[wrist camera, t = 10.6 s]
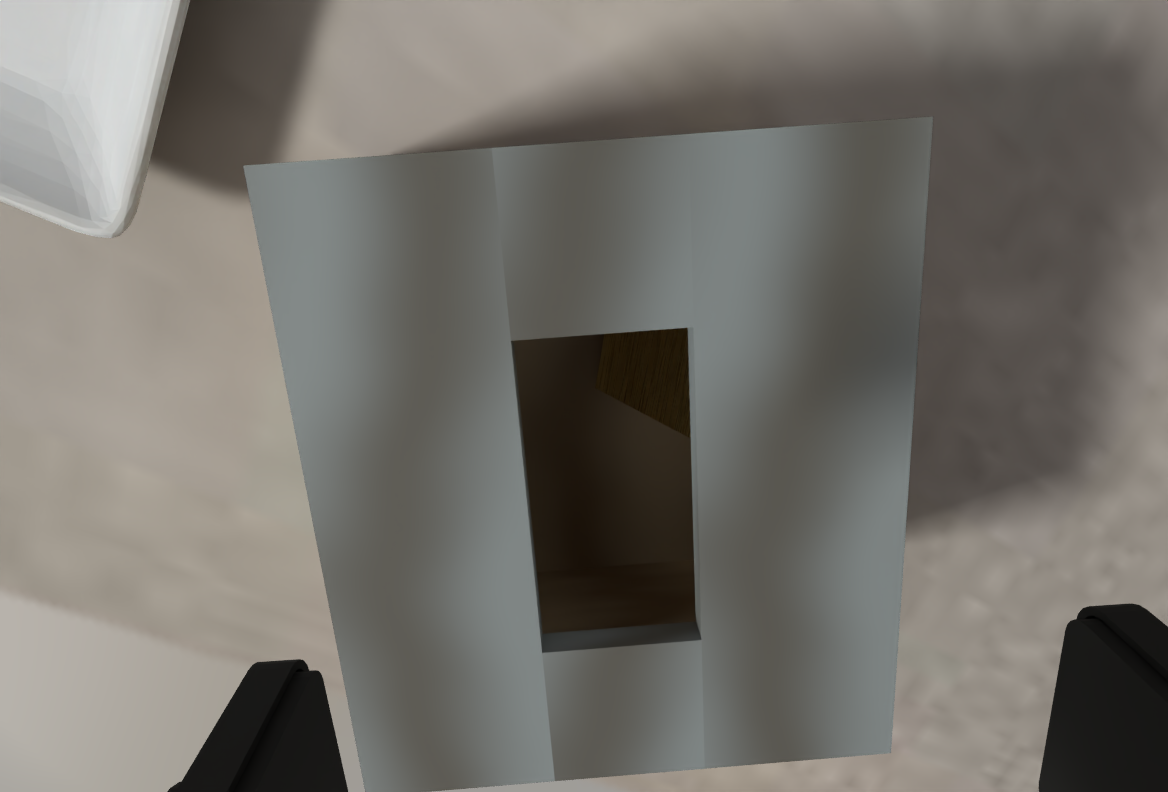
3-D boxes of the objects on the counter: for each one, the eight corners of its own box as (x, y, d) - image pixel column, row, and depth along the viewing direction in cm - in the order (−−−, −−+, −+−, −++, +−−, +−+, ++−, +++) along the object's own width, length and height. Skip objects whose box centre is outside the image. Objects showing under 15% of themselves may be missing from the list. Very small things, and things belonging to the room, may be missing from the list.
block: (670, 243, 25) (816, 281, 21) (643, 385, 27) (775, 448, 22) (620, 238, 24) (765, 277, 19) (595, 387, 25) (724, 456, 21)
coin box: (787, 134, 25) (933, 116, 15) (782, 562, 30) (890, 752, 20) (364, 164, 25) (243, 165, 15) (427, 591, 29) (366, 796, 20)
